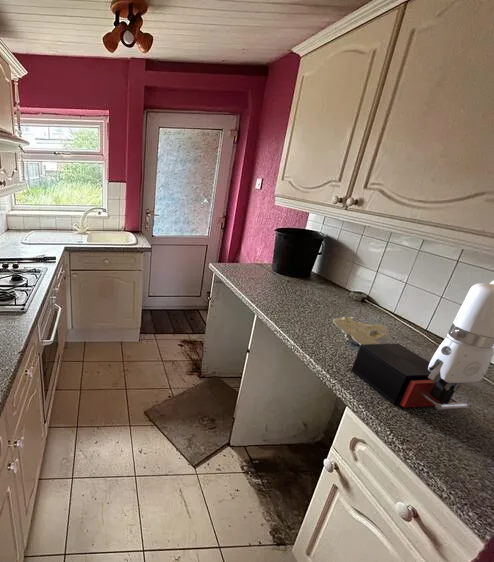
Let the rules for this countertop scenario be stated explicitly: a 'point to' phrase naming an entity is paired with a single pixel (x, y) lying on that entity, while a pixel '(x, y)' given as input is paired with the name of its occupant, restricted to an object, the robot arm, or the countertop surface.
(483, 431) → the countertop surface
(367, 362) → the black drawer housing
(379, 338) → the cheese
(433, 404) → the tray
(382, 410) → the countertop surface
